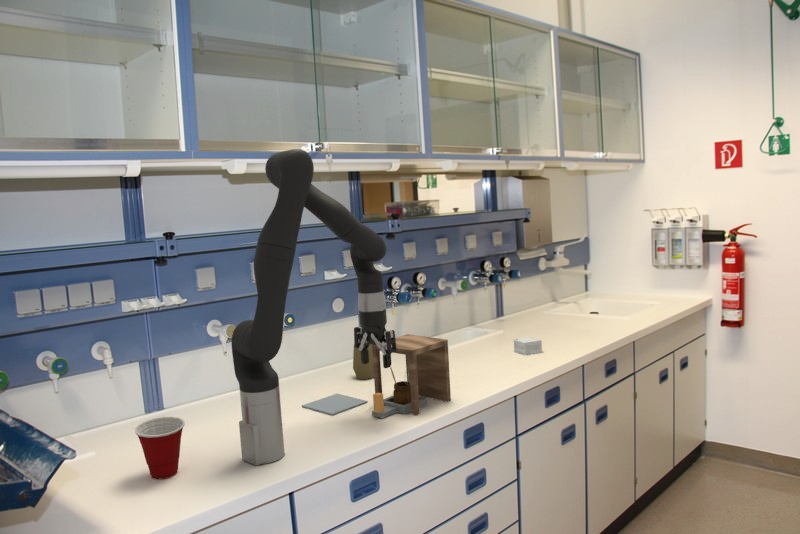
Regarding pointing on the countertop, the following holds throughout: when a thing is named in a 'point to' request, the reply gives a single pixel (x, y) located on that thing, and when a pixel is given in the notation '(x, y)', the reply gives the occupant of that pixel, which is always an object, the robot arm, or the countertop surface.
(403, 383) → the utensil holder
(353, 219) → the robot arm
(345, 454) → the countertop surface
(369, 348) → the squeeze bottle
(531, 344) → the small box
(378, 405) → the sliding frame
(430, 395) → the walnut shelf
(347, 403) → the slate mat
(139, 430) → the plastic cup
